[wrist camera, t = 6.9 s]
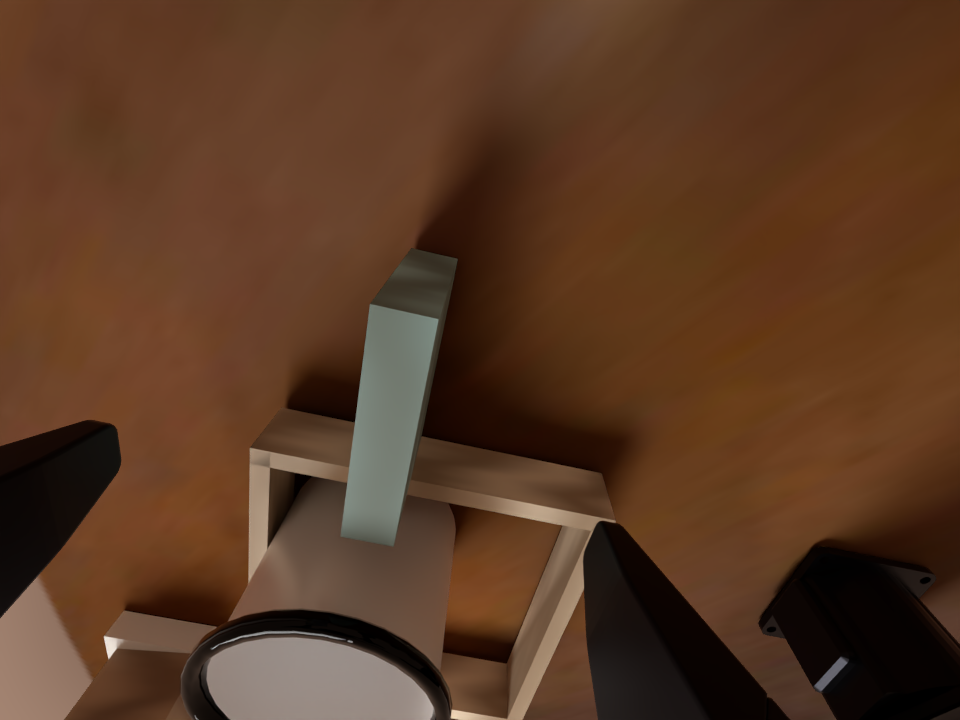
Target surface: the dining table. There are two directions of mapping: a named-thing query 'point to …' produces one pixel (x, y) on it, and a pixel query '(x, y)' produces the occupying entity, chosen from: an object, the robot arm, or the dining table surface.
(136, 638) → the broken cream strip
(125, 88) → the dining table surface
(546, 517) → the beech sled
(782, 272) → the dining table surface
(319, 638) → the mug
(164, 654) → the beige cube
